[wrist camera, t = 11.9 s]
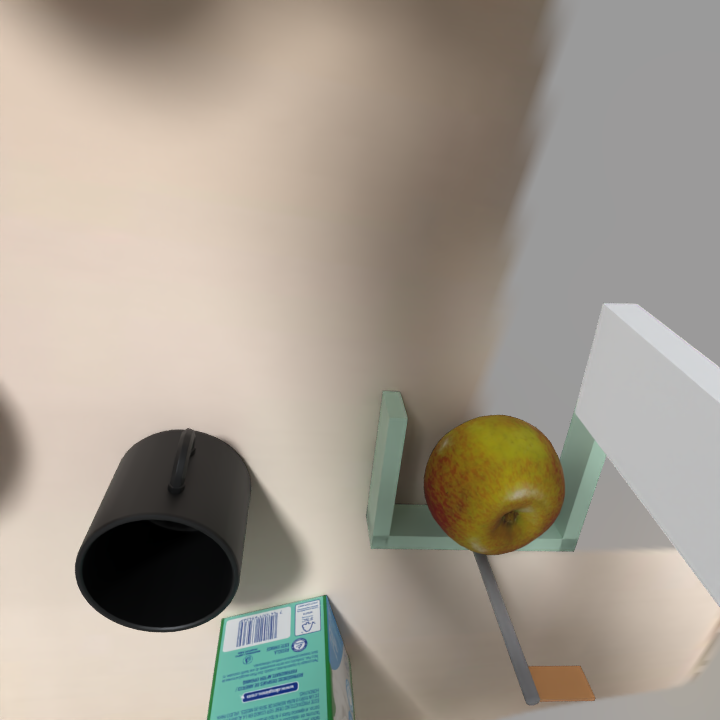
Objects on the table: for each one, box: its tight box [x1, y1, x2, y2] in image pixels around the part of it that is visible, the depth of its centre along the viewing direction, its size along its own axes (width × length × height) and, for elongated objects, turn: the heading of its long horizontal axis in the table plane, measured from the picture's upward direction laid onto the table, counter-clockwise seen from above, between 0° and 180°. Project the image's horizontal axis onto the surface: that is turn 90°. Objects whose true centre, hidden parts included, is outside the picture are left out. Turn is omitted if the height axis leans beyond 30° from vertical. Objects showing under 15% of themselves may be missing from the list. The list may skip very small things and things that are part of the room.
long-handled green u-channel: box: [366, 391, 606, 705], centre depth 37 cm, size 11×15×16 cm
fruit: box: [424, 415, 565, 555], centre depth 40 cm, size 10×9×8 cm
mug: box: [75, 428, 251, 632], centre depth 38 cm, size 9×12×9 cm
